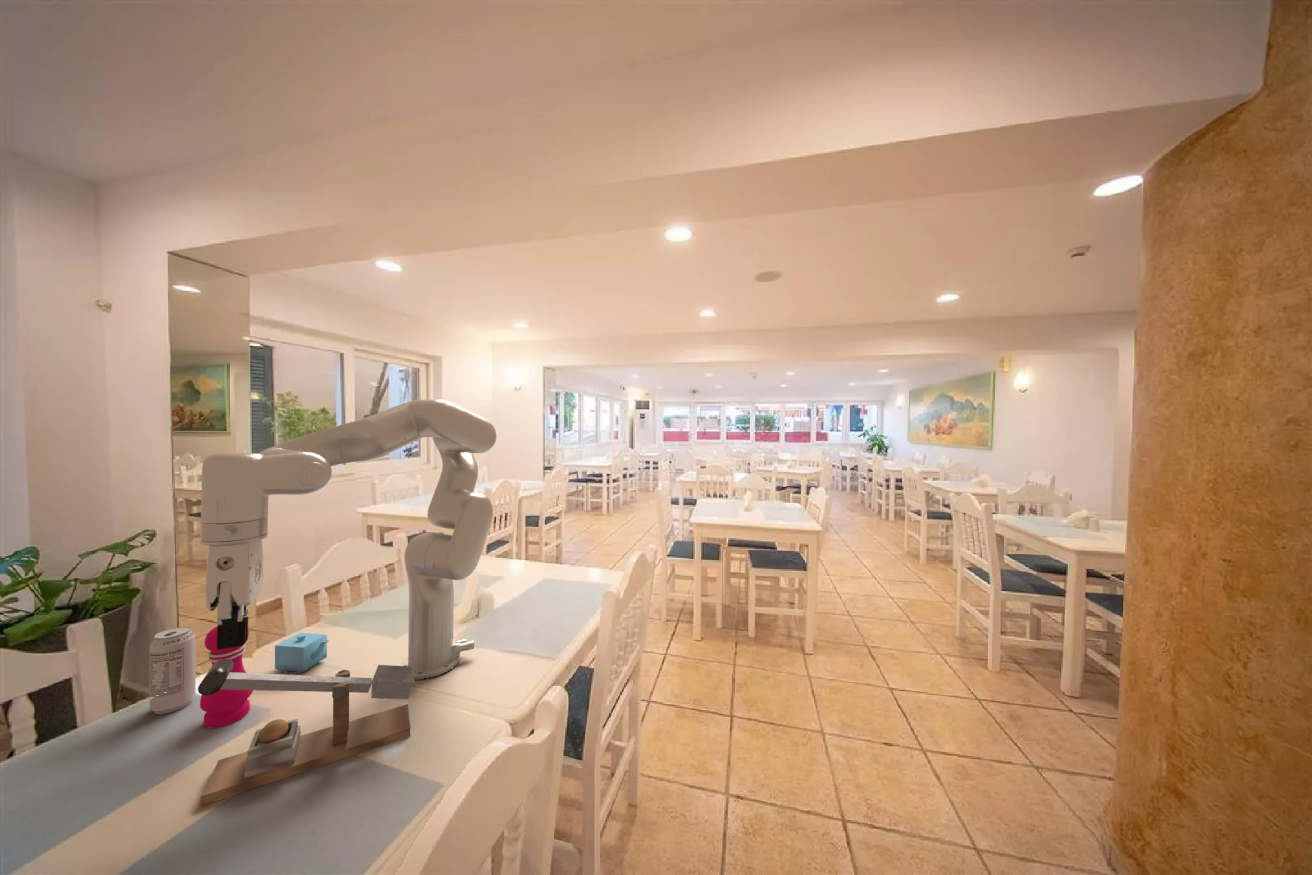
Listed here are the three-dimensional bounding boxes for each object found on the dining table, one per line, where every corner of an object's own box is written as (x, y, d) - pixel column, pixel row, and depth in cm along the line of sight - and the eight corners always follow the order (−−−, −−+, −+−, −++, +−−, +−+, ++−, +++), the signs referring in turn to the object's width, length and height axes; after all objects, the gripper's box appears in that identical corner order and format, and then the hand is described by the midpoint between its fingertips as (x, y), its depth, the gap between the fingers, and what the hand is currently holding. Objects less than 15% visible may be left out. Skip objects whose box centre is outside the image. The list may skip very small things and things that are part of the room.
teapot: (339, 661, 101) (339, 630, 101) (317, 676, 95) (317, 643, 95) (294, 658, 102) (294, 627, 102) (268, 672, 96) (268, 640, 96)
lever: (406, 682, 83) (412, 666, 83) (407, 699, 78) (414, 682, 78) (208, 675, 67) (217, 655, 68) (194, 695, 62) (204, 674, 63)
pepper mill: (218, 733, 77) (218, 626, 76) (189, 727, 78) (188, 621, 78) (263, 707, 84) (263, 609, 84) (235, 702, 85) (234, 605, 85)
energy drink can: (204, 695, 88) (204, 624, 87) (176, 714, 82) (176, 638, 81) (170, 697, 87) (170, 625, 86) (139, 717, 81) (139, 640, 80)
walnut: (290, 731, 72) (290, 711, 72) (286, 745, 69) (286, 724, 69) (262, 740, 70) (262, 719, 70) (256, 754, 67) (256, 732, 67)
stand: (408, 711, 84) (408, 651, 84) (410, 736, 77) (410, 671, 77) (218, 768, 69) (218, 696, 69) (201, 805, 63) (200, 726, 62)
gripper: (255, 538, 62) (252, 661, 62) (276, 519, 75) (274, 622, 75) (182, 544, 58) (179, 675, 58) (217, 523, 71) (214, 631, 71)
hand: (232, 645), depth 67 cm, fingers closed
